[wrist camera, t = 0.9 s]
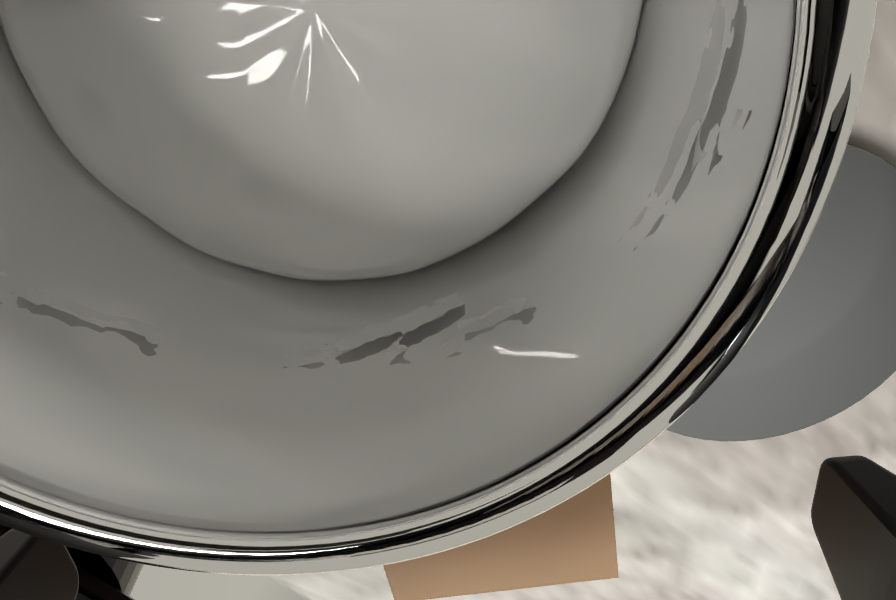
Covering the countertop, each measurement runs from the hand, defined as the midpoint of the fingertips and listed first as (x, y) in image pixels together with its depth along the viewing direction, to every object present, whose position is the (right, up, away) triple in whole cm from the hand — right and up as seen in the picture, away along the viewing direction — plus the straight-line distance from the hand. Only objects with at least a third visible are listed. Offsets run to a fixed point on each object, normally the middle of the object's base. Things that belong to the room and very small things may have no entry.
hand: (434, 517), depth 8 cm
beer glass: (-1, +11, +8) cm, 14 cm away
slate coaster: (+9, +3, +13) cm, 16 cm away
